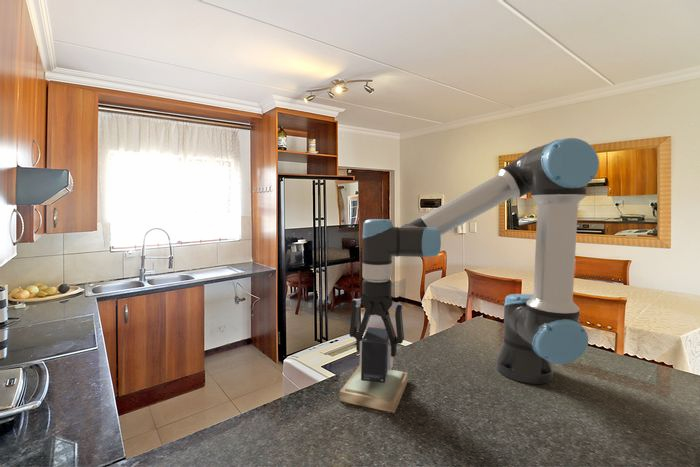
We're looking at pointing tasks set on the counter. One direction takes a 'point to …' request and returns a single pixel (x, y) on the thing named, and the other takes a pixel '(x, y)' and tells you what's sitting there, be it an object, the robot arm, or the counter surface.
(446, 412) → the counter surface
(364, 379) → the small box
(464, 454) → the counter surface
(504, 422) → the counter surface
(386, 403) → the stand
